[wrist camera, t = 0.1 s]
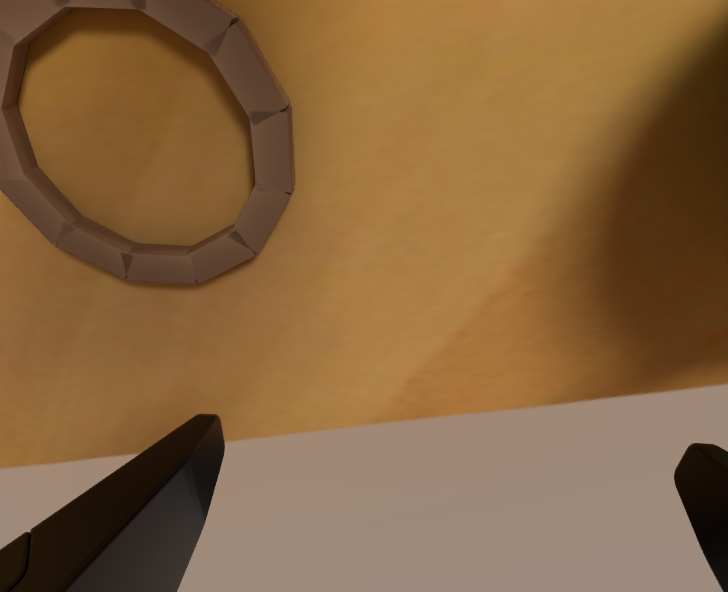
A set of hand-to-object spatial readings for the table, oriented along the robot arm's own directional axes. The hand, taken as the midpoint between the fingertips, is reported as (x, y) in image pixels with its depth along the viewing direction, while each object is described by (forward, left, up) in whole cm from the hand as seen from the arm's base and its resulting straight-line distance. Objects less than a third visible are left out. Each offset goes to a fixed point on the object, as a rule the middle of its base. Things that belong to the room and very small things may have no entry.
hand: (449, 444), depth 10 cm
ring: (-1, -12, -15) cm, 19 cm away
